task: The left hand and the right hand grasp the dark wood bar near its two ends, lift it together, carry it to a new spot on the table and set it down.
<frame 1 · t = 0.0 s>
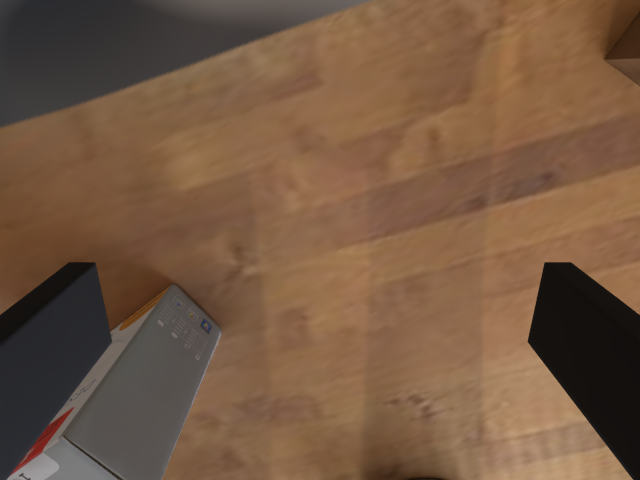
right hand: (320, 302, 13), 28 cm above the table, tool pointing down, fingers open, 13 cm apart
hard drive box: (149, 342, 47), on the table
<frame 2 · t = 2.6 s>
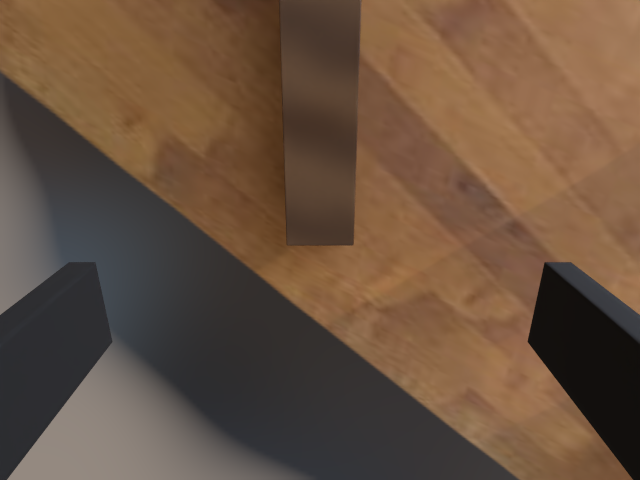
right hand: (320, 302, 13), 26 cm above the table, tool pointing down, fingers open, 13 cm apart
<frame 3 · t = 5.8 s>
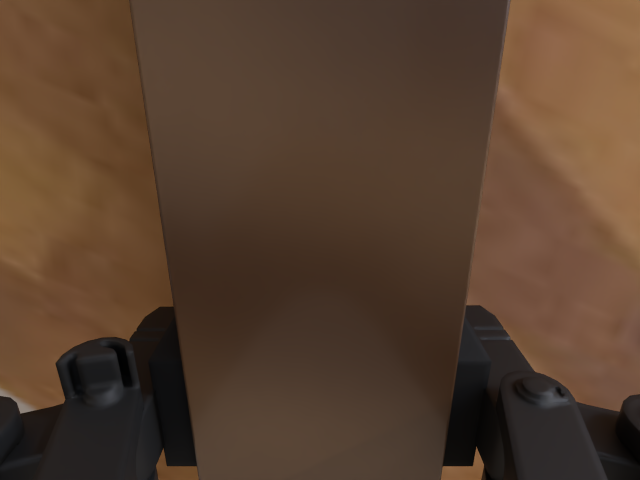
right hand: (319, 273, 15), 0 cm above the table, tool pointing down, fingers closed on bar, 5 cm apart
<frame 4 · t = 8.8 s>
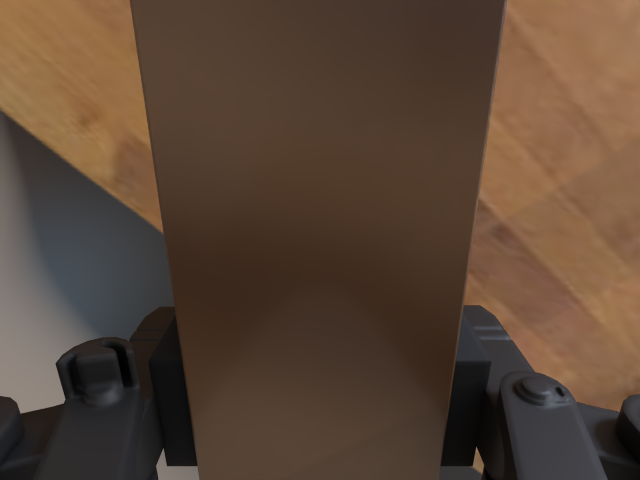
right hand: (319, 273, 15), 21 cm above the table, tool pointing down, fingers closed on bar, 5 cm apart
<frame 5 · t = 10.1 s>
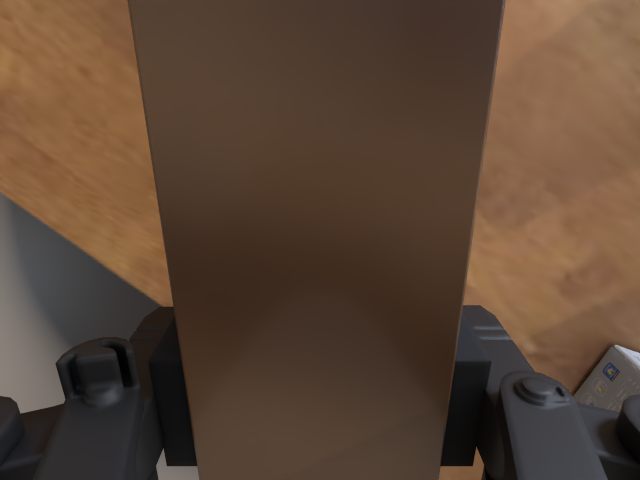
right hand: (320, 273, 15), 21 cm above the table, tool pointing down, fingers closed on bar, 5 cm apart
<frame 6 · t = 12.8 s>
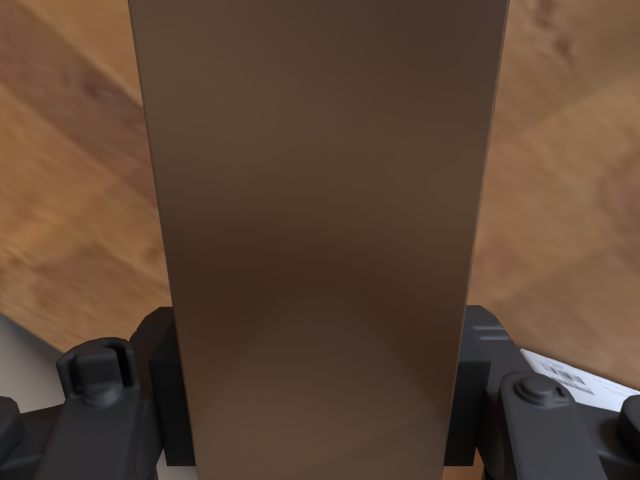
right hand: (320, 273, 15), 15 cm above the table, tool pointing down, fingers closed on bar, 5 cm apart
hard drive box: (570, 406, 36), on the table
when the right hand's fingers open (2 cm above the table, at t = 14.7 s): bar drops 1 cm, on the table.
when the left hand's fingers open (4 cm above the table, at t = 14.9 s): bar stays where it is, on the table.
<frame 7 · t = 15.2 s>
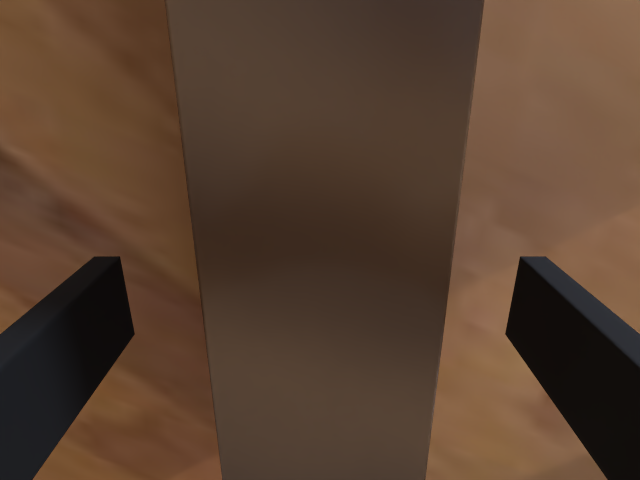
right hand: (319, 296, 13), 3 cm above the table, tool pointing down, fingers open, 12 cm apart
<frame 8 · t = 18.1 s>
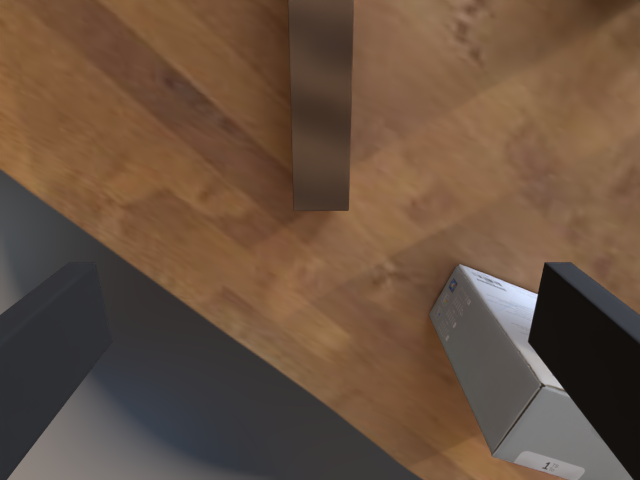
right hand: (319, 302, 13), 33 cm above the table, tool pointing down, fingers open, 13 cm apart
hard drive box: (498, 309, 51), on the table
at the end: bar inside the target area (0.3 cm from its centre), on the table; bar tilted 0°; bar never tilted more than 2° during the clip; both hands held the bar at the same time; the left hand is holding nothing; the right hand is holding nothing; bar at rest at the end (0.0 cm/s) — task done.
